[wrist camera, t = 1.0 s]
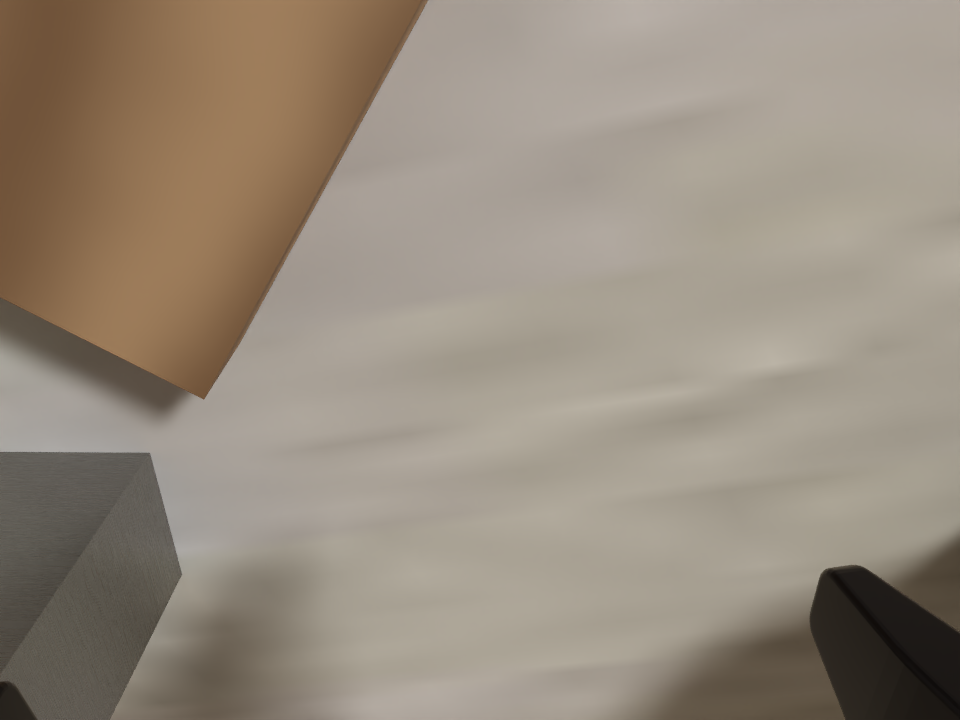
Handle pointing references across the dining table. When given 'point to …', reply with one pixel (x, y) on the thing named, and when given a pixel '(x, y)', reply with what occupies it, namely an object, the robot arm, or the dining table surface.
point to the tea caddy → (80, 576)
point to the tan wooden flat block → (174, 159)
